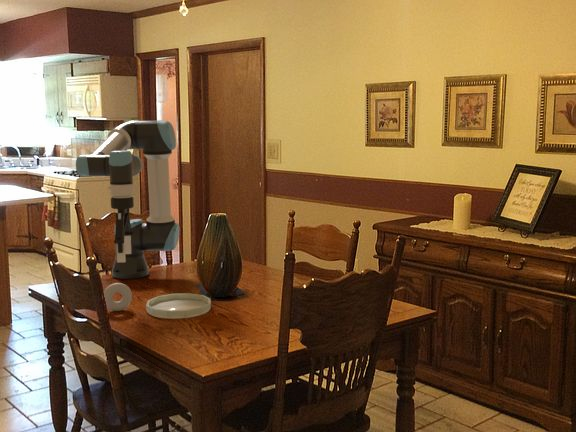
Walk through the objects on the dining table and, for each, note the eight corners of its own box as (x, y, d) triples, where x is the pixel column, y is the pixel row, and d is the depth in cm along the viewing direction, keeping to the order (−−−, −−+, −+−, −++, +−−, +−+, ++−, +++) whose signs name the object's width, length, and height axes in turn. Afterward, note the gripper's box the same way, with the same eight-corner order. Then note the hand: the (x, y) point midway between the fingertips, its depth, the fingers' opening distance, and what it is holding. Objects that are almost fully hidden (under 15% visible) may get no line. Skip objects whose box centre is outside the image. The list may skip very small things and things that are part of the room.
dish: (150, 301, 246) (150, 294, 246) (211, 299, 248) (211, 292, 248) (143, 319, 225) (143, 312, 224) (209, 317, 226) (209, 310, 226)
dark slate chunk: (231, 282, 274) (231, 271, 273) (245, 296, 254) (245, 284, 253) (194, 286, 269) (193, 274, 269) (205, 300, 249) (205, 288, 248)
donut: (132, 308, 238) (130, 280, 236) (133, 310, 235) (132, 282, 233) (102, 311, 234) (101, 283, 233) (103, 313, 231) (102, 285, 230)
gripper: (116, 192, 240) (119, 250, 244) (104, 201, 216) (106, 266, 219) (138, 192, 241) (140, 250, 244) (127, 201, 216) (130, 265, 220)
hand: (124, 258), depth 232 cm, fingers open, 13 cm apart
